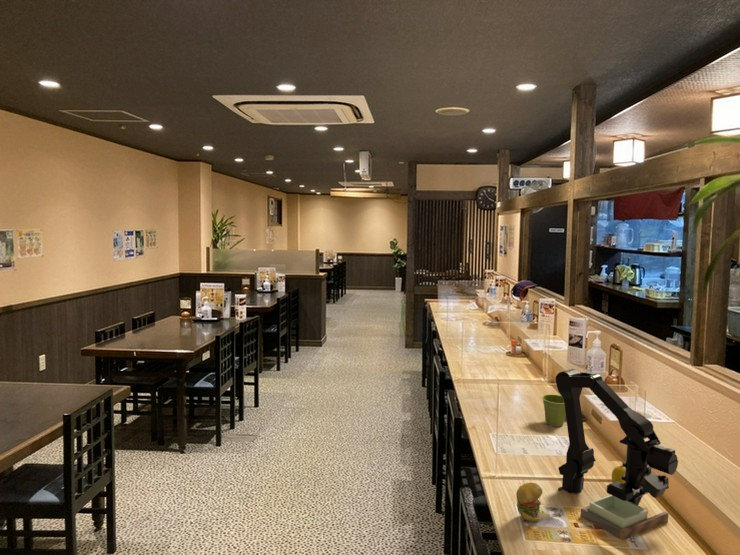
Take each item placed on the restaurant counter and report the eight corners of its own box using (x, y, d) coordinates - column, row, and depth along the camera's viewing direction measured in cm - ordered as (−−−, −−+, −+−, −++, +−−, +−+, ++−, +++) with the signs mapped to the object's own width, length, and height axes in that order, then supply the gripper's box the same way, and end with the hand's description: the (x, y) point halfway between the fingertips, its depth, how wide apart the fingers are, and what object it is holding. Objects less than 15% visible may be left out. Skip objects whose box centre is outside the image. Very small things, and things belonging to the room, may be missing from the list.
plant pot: (536, 424, 240) (538, 399, 239) (545, 417, 250) (546, 392, 249) (564, 431, 234) (566, 405, 232) (572, 423, 243) (574, 398, 242)
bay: (622, 543, 152) (623, 531, 152) (580, 519, 164) (581, 508, 164) (667, 524, 163) (668, 512, 163) (624, 502, 175) (625, 492, 174)
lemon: (606, 486, 185) (608, 463, 185) (619, 483, 188) (621, 460, 187) (620, 494, 180) (622, 470, 180) (632, 491, 183) (634, 467, 182)
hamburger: (542, 527, 159) (544, 487, 158) (516, 524, 160) (518, 484, 159) (538, 513, 167) (541, 474, 166) (513, 510, 168) (516, 472, 167)
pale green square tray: (622, 535, 154) (623, 520, 154) (588, 516, 164) (589, 502, 163) (646, 525, 160) (647, 510, 159) (612, 507, 169) (613, 493, 169)
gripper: (643, 481, 152) (639, 534, 154) (682, 464, 162) (678, 515, 164) (607, 464, 161) (604, 515, 163) (645, 450, 171) (642, 498, 173)
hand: (633, 511), depth 166 cm, fingers closed
